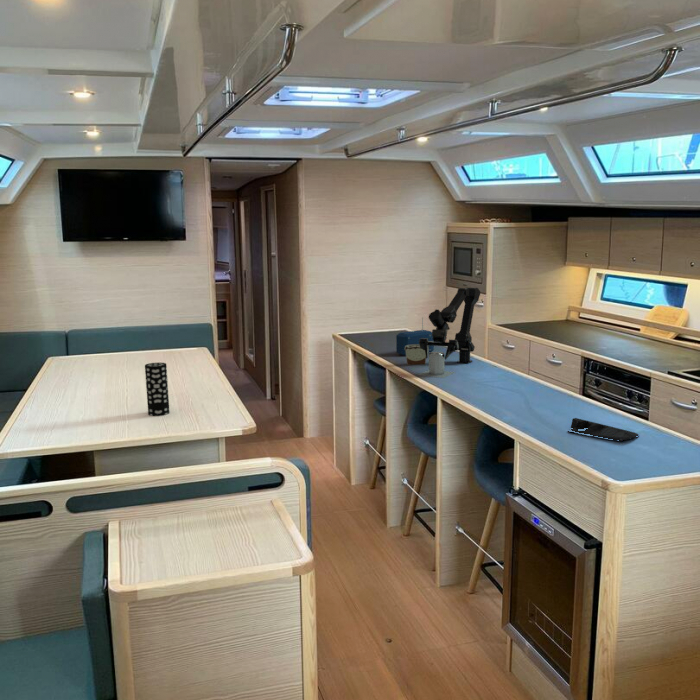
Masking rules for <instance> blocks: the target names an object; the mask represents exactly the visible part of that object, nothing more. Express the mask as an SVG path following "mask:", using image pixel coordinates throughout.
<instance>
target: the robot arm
mask: <svg viewBox="0 0 700 700" xmlns="http://www.w3.org/2000/svg"><path fill="white" fill-rule="evenodd" d="M480 296H481V290H480V289H479V288H478V287H470V286H469V287H465V288H464V287H460V288H458V289H457V292H456V294H455V295H454V296H453V298H452V299H451V301H450V303H449V304H448V305H446V306H445V307H444V308H442V310H439V309H434V311H432V312H430V313H429V314H428V319H429V321H430V323H431V324H432V325H433V327H435V328H434V329H432V330H431V332H432V336H433V338H432V339H433V340H434V341H428V339H427V338H421V339H420V340H419V344H420V348H421V349H423V350H425V354H426V360H427V359H429V346H435V347H445V348H446V352H445V354H444V361H445V360H447V359H448V358H449V357H450V355H452V354H453V353H454V352H456V351H459V353H458V354H459V355H458V357H459V358H458V360H457V361H456V363H458V362H459V364H471V363H472V361H473V360H471V353H473V352H474V351H475V348H476V347H475V345H474V343H473V342H472V335H471V332H470V331H471V327H472V321H473V315H474V310H475V305H476V304H477V303H478V302H479V300H480ZM463 303H464V308H463V312H462V319H461V323H460V324H461V325H460V329H459V332H456V333H455V338H454V339H448V342H447V341H446V339H447V336H448V331H449V330H450V326H449V324H448V323H454V322H455V320H456V318H457V316H458V315H457V314H458V313H457V312H458V310H459V309H460V306H461V305H462V304H463Z"/></svg>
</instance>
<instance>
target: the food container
mask: <svg viewBox="0 0 700 700" xmlns="http://www.w3.org/2000/svg"><path fill="white" fill-rule="evenodd" d="M404 350H406V356H405V358H406V359H405V360H406V366H413V365H415V366H416V365H420V366H421V365H426V363H427V362H426V361H427V359H426V354H425V350H423V349H421V348H420V344H411V345H406V346H405V348H404Z"/></svg>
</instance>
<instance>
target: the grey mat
mask: <svg viewBox="0 0 700 700" xmlns="http://www.w3.org/2000/svg"><path fill="white" fill-rule="evenodd" d="M455 373H456V371H448V370H444V374H443V375H430V374H429V369H428V370H426V371H423V372H420V373H418V374H417V376H424V377H429V378H430V377H431V378H440V379H444V378H447V377H449V376H451V375H454V374H455Z"/></svg>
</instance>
